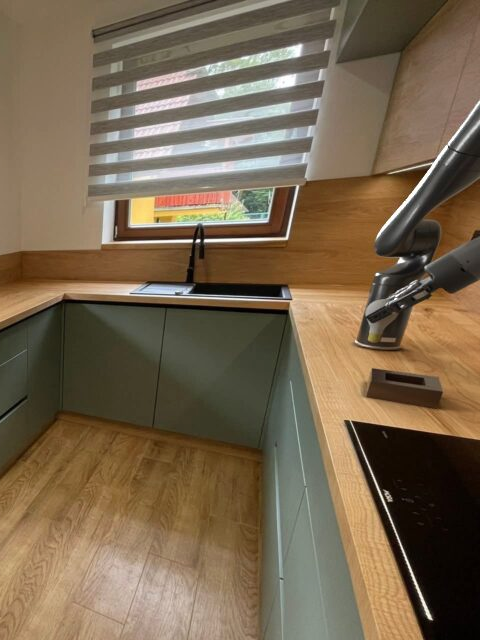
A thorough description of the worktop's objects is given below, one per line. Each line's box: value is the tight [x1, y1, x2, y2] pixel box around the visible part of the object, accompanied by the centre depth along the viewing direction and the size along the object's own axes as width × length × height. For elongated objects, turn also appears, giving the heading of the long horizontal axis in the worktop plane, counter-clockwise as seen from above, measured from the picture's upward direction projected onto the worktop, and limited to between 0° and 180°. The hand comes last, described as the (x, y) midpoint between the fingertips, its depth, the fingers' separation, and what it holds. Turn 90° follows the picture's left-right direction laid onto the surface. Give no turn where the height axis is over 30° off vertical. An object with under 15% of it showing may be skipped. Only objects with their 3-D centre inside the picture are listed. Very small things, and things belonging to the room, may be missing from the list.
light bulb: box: [365, 299, 399, 343], centre depth 97 cm, size 6×6×10 cm
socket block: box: [365, 367, 444, 409], centre depth 88 cm, size 10×10×4 cm
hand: (369, 317), depth 98 cm, fingers closed on light bulb, 5 cm apart
